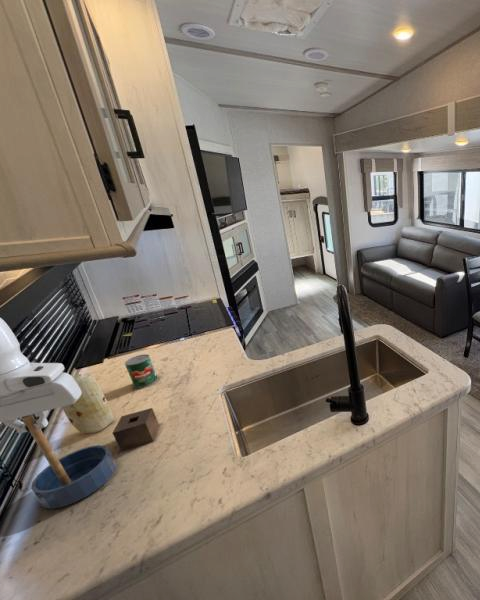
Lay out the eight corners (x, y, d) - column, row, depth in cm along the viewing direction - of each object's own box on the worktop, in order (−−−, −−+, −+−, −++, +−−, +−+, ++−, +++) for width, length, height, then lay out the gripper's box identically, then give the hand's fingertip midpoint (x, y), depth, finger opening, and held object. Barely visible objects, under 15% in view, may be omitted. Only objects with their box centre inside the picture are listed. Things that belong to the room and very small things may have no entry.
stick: (61, 487, 79) (19, 419, 72) (64, 482, 80) (24, 415, 73) (69, 484, 80) (29, 416, 72) (72, 479, 81) (33, 412, 73)
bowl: (29, 520, 73) (16, 503, 71) (59, 474, 86) (50, 458, 83) (105, 493, 79) (96, 476, 77) (124, 453, 91) (116, 438, 89)
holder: (121, 451, 92) (112, 432, 90) (129, 433, 99) (121, 416, 97) (153, 441, 95) (145, 423, 93) (159, 424, 102) (152, 407, 100)
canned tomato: (142, 389, 122) (132, 365, 118) (129, 386, 125) (119, 363, 121) (162, 378, 129) (153, 355, 125) (149, 375, 132) (140, 353, 128)
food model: (116, 416, 108) (93, 367, 101) (116, 425, 103) (91, 375, 96) (77, 430, 102) (50, 379, 95) (75, 441, 97) (46, 389, 90)
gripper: (-77, 404, 62) (-39, 455, 67) (58, 374, 70) (83, 422, 75) (-51, 387, 68) (-18, 436, 72) (71, 361, 76) (93, 407, 81)
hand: (34, 428), depth 74 cm, fingers closed on stick, 1 cm apart
